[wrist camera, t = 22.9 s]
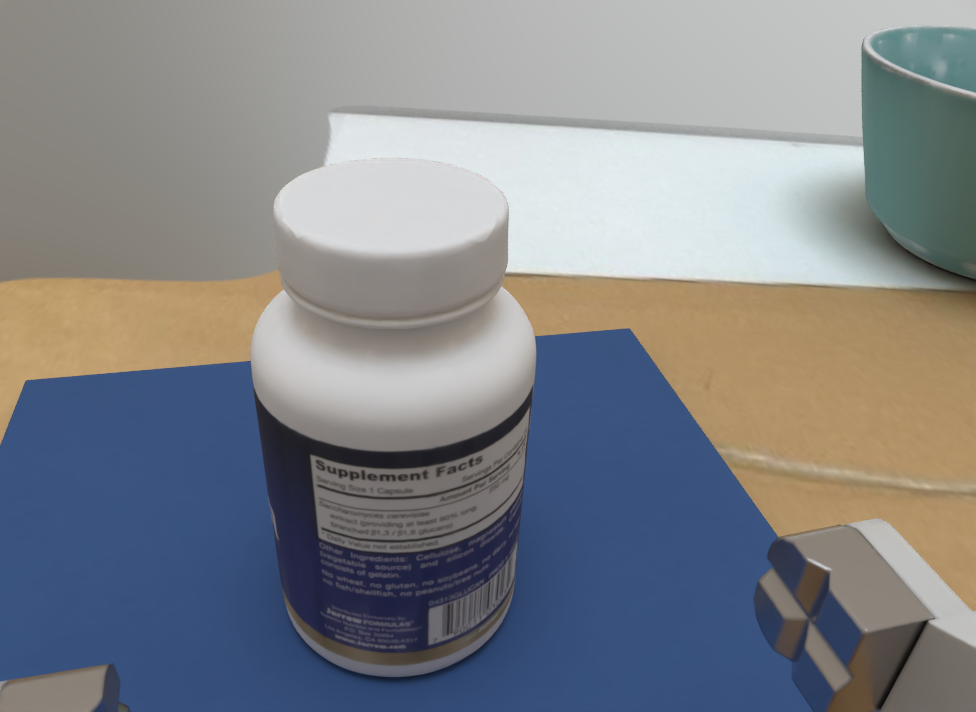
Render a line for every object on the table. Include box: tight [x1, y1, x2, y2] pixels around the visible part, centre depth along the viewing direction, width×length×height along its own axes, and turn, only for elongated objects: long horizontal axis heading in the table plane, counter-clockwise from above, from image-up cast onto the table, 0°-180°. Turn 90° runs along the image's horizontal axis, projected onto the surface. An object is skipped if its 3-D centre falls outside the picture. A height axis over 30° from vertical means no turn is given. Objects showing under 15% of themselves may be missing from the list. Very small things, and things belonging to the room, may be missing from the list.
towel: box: [0, 328, 880, 712], centre depth 19 cm, size 20×20×1 cm
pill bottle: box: [251, 158, 536, 677], centre depth 17 cm, size 5×5×10 cm
